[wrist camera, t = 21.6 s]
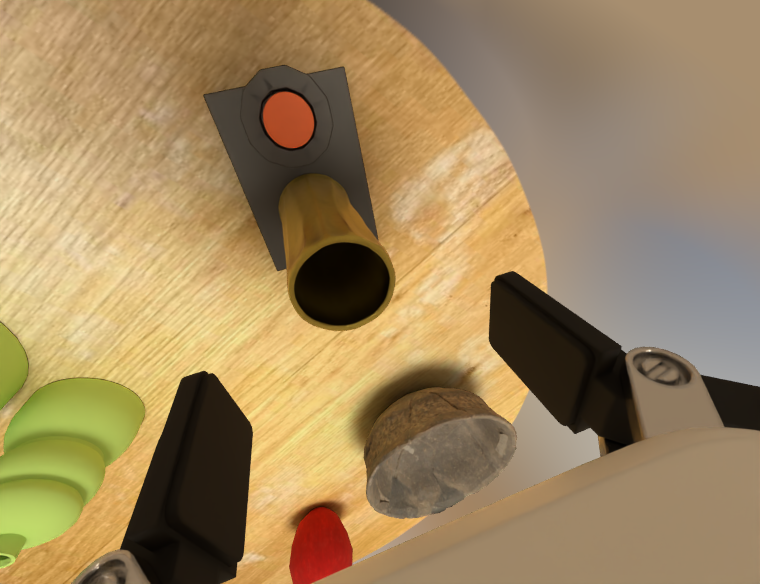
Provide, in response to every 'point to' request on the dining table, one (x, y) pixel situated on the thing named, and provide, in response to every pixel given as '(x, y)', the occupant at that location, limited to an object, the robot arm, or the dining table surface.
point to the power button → (288, 119)
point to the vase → (332, 256)
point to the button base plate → (281, 164)
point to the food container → (56, 449)
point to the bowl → (434, 452)
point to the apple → (319, 547)
